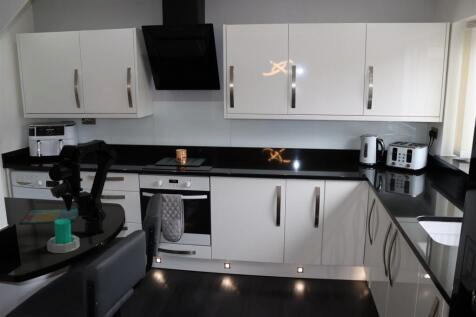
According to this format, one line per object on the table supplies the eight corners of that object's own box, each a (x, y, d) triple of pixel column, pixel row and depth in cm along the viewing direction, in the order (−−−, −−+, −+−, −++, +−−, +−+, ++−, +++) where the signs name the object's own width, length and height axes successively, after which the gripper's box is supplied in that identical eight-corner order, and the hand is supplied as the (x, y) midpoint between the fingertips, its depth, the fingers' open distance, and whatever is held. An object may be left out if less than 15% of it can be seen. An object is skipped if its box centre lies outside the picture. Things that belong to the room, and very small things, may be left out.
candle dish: (70, 238, 168) (70, 232, 167) (85, 246, 160) (85, 239, 160) (41, 246, 159) (41, 239, 158) (56, 255, 151) (55, 248, 151)
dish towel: (75, 223, 188) (75, 218, 188) (20, 225, 182) (20, 220, 182) (79, 212, 204) (79, 207, 204) (30, 214, 198) (29, 209, 198)
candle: (51, 247, 157) (50, 218, 155) (63, 242, 163) (62, 214, 161) (63, 250, 155) (62, 221, 153) (74, 244, 161) (73, 216, 159)
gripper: (41, 175, 158) (43, 212, 161) (64, 183, 146) (66, 223, 149) (68, 171, 166) (70, 206, 169) (92, 179, 154) (93, 217, 157)
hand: (74, 213), depth 161 cm, fingers open, 9 cm apart
